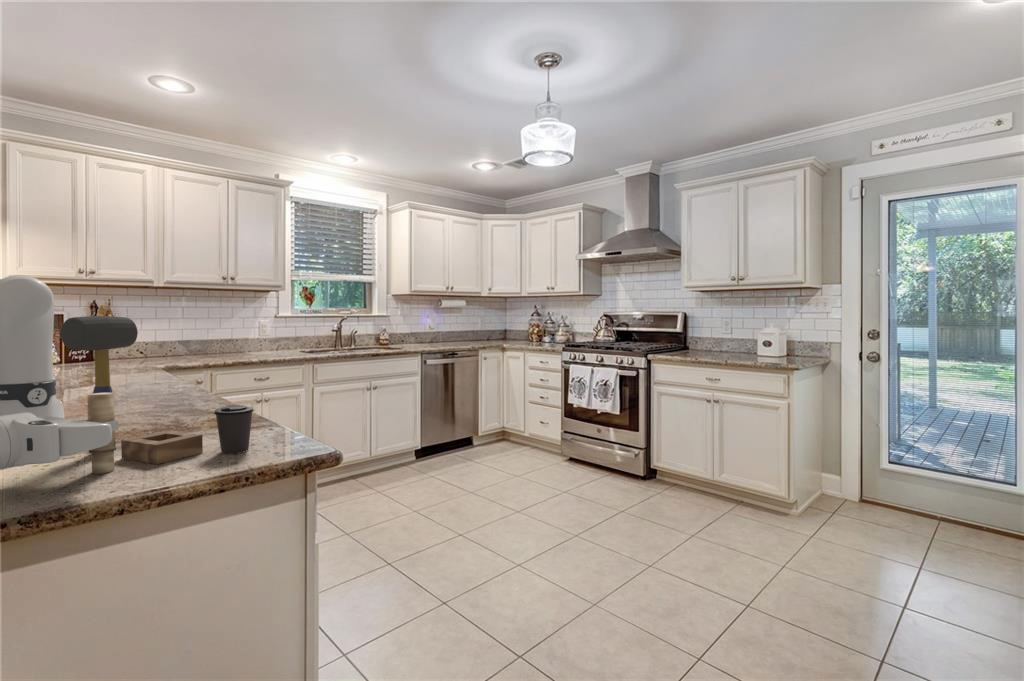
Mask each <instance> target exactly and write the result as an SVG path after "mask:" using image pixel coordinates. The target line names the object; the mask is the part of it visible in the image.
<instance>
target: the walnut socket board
mask: <svg viewBox="0 0 1024 681" xmlns="http://www.w3.org/2000/svg"><path fill="white" fill-rule="evenodd" d="M120 443H121V444H120V446H121V447H120V448H121V449H120V450H121V459H122V460H127V461H132V460H133V461H132V462H138V461H139V463H144V462H145V464H150V463H152V464H151V465H156V464H158V465H161V463H162V464H165V463H169V462H172V461H171V460H173V461H175V459H177V460H179V458H180V459H184V458H187V457H191V456H195V455H199V454H203V452H204V451H203V448H204V447H203V434H200V433H192V432H186V431H185V432H184V431H176V430H169V429H168V430H162V431H158V432H153V433H148V434H143V435H139V436H134V437H129V438H125V439H121V440H120ZM183 457H184V458H183ZM168 461H169V462H168ZM164 462H165V463H164Z"/></svg>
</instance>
